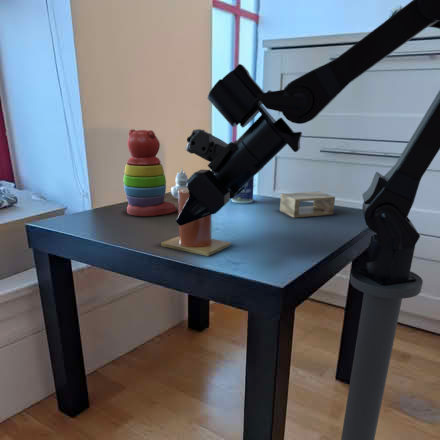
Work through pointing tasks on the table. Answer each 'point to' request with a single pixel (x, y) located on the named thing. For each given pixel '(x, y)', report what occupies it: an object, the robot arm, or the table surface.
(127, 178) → the stacking bear
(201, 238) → the cylinder
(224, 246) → the cork mat
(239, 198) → the pill bottle
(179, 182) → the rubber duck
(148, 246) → the table surface
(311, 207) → the box
